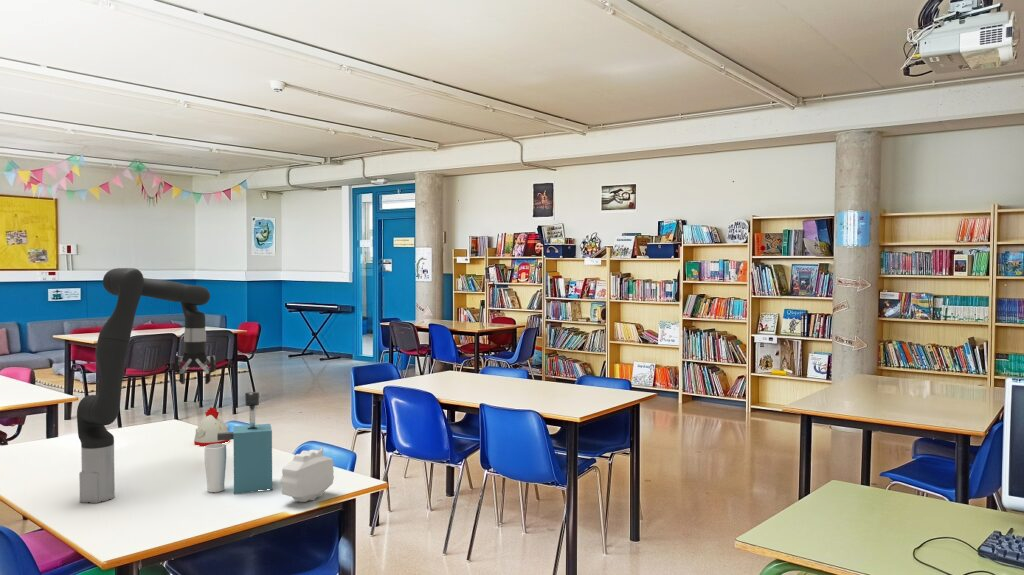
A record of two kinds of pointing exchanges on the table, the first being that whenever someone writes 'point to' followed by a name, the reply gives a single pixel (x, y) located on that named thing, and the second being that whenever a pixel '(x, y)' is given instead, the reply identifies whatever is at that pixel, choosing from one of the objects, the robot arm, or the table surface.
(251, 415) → the plunger
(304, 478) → the white stepped block
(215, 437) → the kitchen timer
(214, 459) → the drinking glass
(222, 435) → the dispenser
